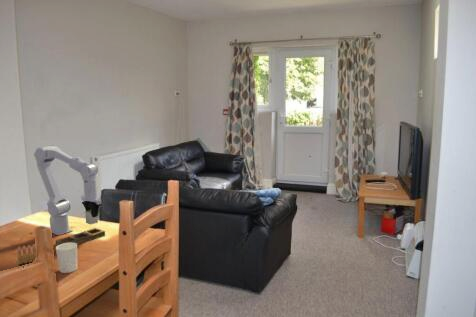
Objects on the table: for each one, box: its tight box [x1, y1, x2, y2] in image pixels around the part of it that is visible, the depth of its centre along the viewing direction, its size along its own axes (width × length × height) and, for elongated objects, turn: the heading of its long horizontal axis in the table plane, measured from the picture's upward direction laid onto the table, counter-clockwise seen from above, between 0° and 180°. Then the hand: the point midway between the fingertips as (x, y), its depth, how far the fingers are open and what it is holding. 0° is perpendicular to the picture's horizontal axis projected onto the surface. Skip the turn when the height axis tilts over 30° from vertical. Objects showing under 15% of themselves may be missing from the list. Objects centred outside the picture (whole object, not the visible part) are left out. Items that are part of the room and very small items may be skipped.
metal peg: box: [84, 210, 99, 225], centre depth 199 cm, size 4×4×6 cm
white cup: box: [55, 242, 78, 274], centre depth 163 cm, size 8×8×10 cm
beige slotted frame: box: [55, 227, 106, 246], centre depth 196 cm, size 8×21×2 cm, turn 141°
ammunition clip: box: [17, 243, 37, 266], centre depth 160 cm, size 11×2×12 cm, turn 117°
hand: (92, 215), depth 199 cm, fingers closed on metal peg, 4 cm apart
